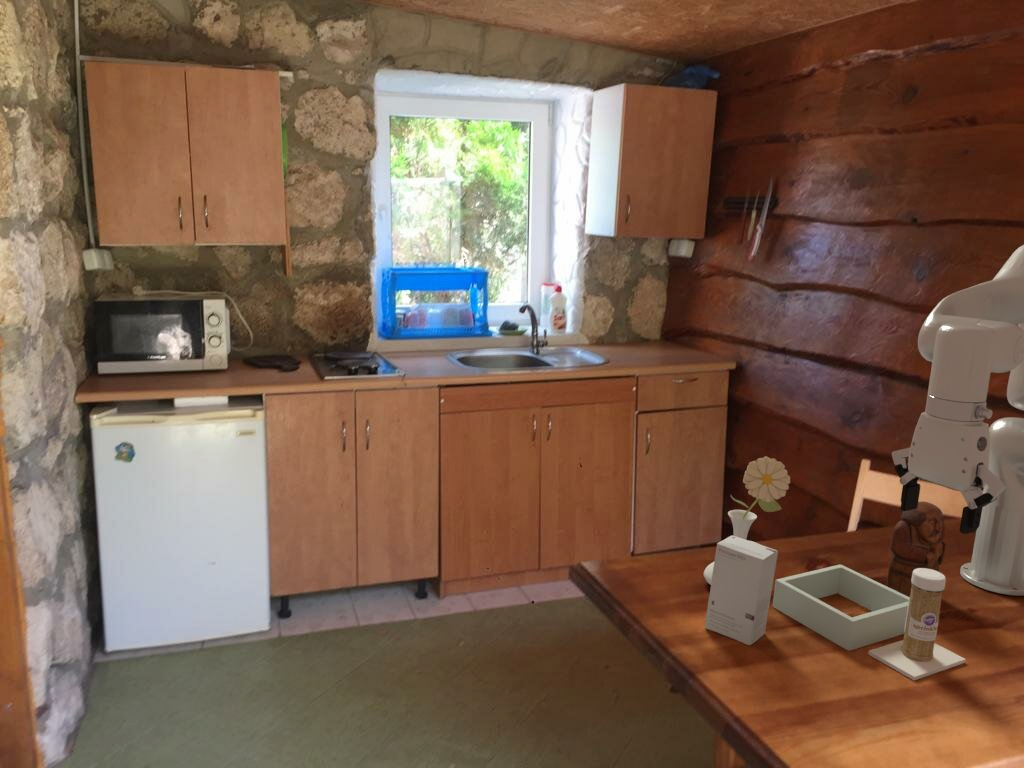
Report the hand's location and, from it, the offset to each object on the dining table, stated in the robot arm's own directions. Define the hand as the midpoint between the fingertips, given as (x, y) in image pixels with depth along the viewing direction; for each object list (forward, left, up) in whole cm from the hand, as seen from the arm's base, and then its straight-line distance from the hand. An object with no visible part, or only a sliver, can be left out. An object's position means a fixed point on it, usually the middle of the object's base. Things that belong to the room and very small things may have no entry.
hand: (937, 520), depth 124 cm
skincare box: (+20, -18, -23) cm, 35 cm away
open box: (0, -14, -22) cm, 26 cm away
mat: (0, 0, -22) cm, 22 cm away
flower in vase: (+8, -30, -23) cm, 38 cm away
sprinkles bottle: (0, 0, -22) cm, 22 cm away
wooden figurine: (-18, -14, -23) cm, 32 cm away
